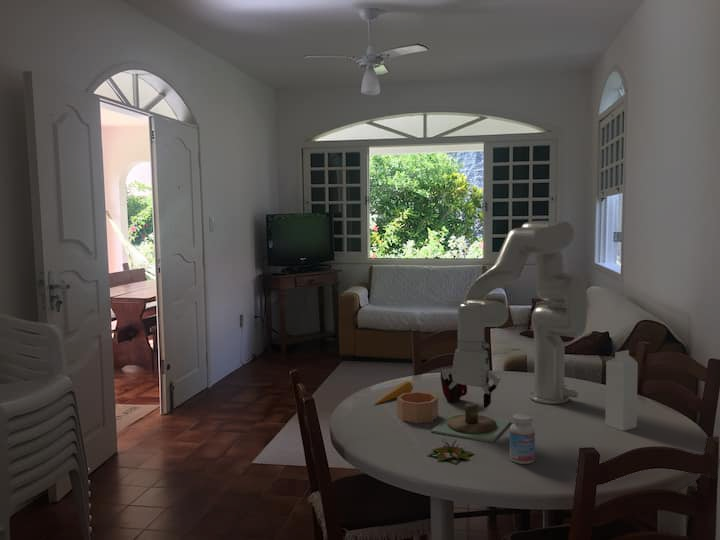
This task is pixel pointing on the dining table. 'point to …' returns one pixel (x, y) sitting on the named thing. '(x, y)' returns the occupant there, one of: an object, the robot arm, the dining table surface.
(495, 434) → the mat
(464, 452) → the lily flower
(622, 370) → the milk
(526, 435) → the pill bottle
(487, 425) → the lid
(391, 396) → the carrot
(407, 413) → the bowl
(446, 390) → the mug
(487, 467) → the dining table surface
